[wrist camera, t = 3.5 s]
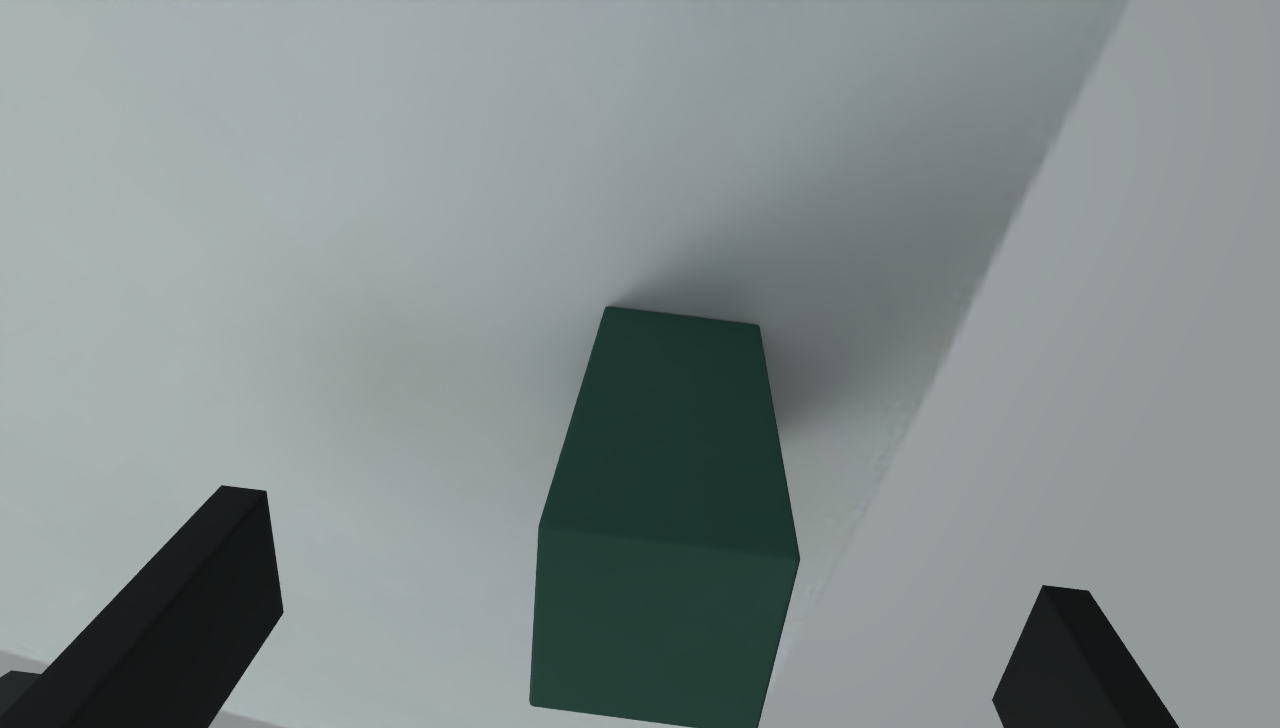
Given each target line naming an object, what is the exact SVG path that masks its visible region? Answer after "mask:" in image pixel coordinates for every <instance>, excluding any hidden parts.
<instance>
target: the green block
mask: <svg viewBox="0 0 1280 728" xmlns="http://www.w3.org/2000/svg"><path fill="white" fill-rule="evenodd" d="M799 562H800V555H799V549H798V544H797V538H796V532H795V527H794V521H793V515H792V509H791V504H790V498H789V492H788V487H787V481H786V475H785V470H784V464H783V458H782V452H781V447H780V441H779V435H778V430H777V424H776V418H775V413H774V407H773V401H772V395H771V390H770V384H769V378H768V373H767V367H766V361H765V356H764V350H763V344H762V338H761V333H760V327H759V326H758V325H754V324H746V323H738V322H729V321H721V320H713V319H705V318H697V317H689V316H680V315H672V314H664V313H656V312H648V311H640V310H631V309H623V308H615V307H605V309H604V313H603V316H602V319H601V322H600V326H599V329H598V332H597V336H596V339H595V342H594V345H593V349H592V352H591V355H590V359H589V362H588V365H587V369H586V372H585V375H584V378H583V382H582V385H581V388H580V392H579V395H578V398H577V401H576V405H575V408H574V411H573V415H572V418H571V421H570V424H569V428H568V431H567V434H566V438H565V441H564V444H563V448H562V451H561V454H560V457H559V461H558V464H557V467H556V471H555V474H554V477H553V480H552V484H551V487H550V490H549V494H548V497H547V500H546V503H545V507H544V510H543V513H542V517H541V520H540V523H539V530H538V548H537V567H536V586H535V604H534V623H533V642H532V660H531V679H530V698H529V701H530V705H532V706H535V707H543V708H550V709H558V710H565V711H573V712H580V713H588V714H596V715H603V716H611V717H618V718H626V719H633V720H641V721H648V722H656V723H663V724H671V725H678V726H686V727H693V728H758V725H759V721H760V717H761V713H762V709H763V705H764V702H765V698H766V694H767V690H768V686H769V682H770V678H771V674H772V670H773V666H774V662H775V658H776V654H777V650H778V646H779V642H780V638H781V634H782V630H783V626H784V622H785V618H786V614H787V610H788V606H789V602H790V598H791V594H792V590H793V586H794V582H795V578H796V574H797V570H798V566H799Z"/></svg>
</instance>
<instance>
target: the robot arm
mask: <svg viewBox="0 0 1280 728" xmlns="http://www.w3.org/2000/svg"><path fill="white" fill-rule="evenodd" d="M283 613H284V611H283V604H282V597H281V590H280V583H279V576H278V569H277V562H276V555H275V548H274V541H273V534H272V527H271V520H270V513H269V506H268V499H267V492H266V491H264V490H256V489H247V488H239V487H231V486H223V485H221V486H220V487H219V489H218V490H217V491H216V492H215V493H214V494H213V495H212V496H211V497H210V498H209V499H208V500H207V501H206V502H205V503H204V504H203V505H202V506H201V507H200V508H199V510H198V511H197V512H196V513H195V514H194V515H193V516H192V517H191V518H190V519H189V520H188V521H187V522H186V523H185V524H184V525H183V526H182V527H181V528H180V529H179V530H178V532H177V533H176V534H175V535H174V536H173V537H172V538H171V539H170V540H169V541H168V542H167V543H166V544H165V545H164V546H163V547H162V548H161V549H160V550H159V551H158V553H157V554H156V555H155V556H154V557H153V558H152V559H151V560H150V561H149V562H148V563H147V564H146V565H145V566H144V567H143V568H142V569H141V570H140V571H139V572H138V574H137V575H136V576H135V577H134V578H133V579H132V580H131V581H130V582H129V583H128V584H127V585H126V586H125V587H124V588H123V589H122V590H121V591H120V592H119V593H118V595H117V596H116V597H115V598H114V599H113V600H112V601H111V602H110V603H109V604H108V605H107V606H106V607H105V608H104V609H103V610H102V611H101V612H100V613H99V614H98V615H97V617H96V618H95V619H94V620H93V621H92V622H91V623H90V624H89V625H88V626H87V627H86V628H85V629H84V630H83V631H82V632H81V633H80V634H79V635H78V636H77V638H76V639H75V640H74V641H73V642H72V643H71V644H70V645H69V646H68V647H67V648H66V649H65V650H64V651H63V652H62V653H61V654H60V655H59V656H58V657H57V659H56V660H55V661H54V662H53V663H52V664H51V665H50V666H49V667H48V668H47V669H46V670H45V671H44V672H43V673H42V674H35V673H27V672H18V671H10V672H8V673H7V674H5V675H4V676H2V677H0V728H208V727H209V725H210V724H211V722H212V721H213V719H214V718H215V716H216V715H217V713H218V712H219V710H220V709H221V707H222V706H223V704H224V703H225V701H226V700H227V698H228V697H229V695H230V693H231V692H232V690H233V689H234V687H235V686H236V684H237V683H238V681H239V680H240V678H241V677H242V675H243V674H244V672H245V671H246V669H247V668H248V666H249V665H250V663H251V662H252V660H253V659H254V657H255V655H256V654H257V652H258V651H259V649H260V648H261V646H262V645H263V643H264V642H265V640H266V639H267V637H268V636H269V634H270V633H271V631H272V630H273V628H274V627H275V625H276V624H277V622H278V620H279V619H280V617H281V616H282V614H283ZM992 701H993V703H994V706H995V708H996V710H997V712H998V715H999V717H1000V719H1001V722H1002V724H1003V727H1004V728H1179V727H1178V725H1177V724H1176V722H1175V720H1174V719H1173V718H1172V716H1171V714H1170V713H1169V712H1168V710H1167V708H1166V707H1165V705H1164V704H1163V703H1162V701H1161V699H1160V698H1159V696H1158V695H1157V693H1156V692H1155V690H1154V689H1153V688H1152V686H1151V684H1150V683H1149V681H1148V680H1147V678H1146V677H1145V675H1144V674H1143V672H1142V671H1141V669H1140V668H1139V666H1138V665H1137V663H1136V662H1135V660H1134V659H1133V657H1132V656H1131V654H1130V653H1129V651H1128V650H1127V648H1126V647H1125V645H1124V643H1123V642H1122V641H1121V639H1120V637H1119V636H1118V634H1117V633H1116V631H1115V630H1114V628H1113V627H1112V625H1111V624H1110V622H1109V621H1108V619H1107V618H1106V616H1105V615H1104V613H1103V612H1102V610H1101V609H1100V607H1099V606H1098V604H1097V603H1096V601H1095V600H1094V598H1093V597H1092V595H1091V594H1090V592H1089V591H1087V590H1079V589H1070V588H1062V587H1054V586H1045V585H1043V586H1042V588H1041V590H1040V593H1039V595H1038V597H1037V599H1036V602H1035V604H1034V606H1033V608H1032V611H1031V613H1030V615H1029V617H1028V620H1027V622H1026V624H1025V627H1024V629H1023V631H1022V634H1021V636H1020V638H1019V640H1018V642H1017V645H1016V647H1015V649H1014V651H1013V654H1012V656H1011V658H1010V660H1009V663H1008V665H1007V667H1006V669H1005V672H1004V674H1003V676H1002V679H1001V681H1000V683H999V685H998V688H997V690H996V692H995V695H994V697H993V699H992Z"/></svg>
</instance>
